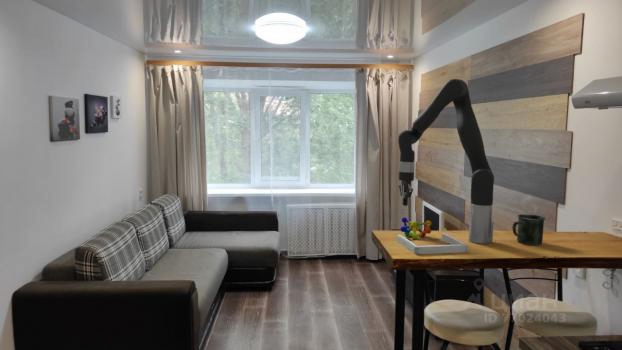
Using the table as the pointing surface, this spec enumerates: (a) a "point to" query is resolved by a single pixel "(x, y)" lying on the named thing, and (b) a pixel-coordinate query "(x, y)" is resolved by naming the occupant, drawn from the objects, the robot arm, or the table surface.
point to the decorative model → (415, 226)
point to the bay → (435, 246)
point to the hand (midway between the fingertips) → (405, 205)
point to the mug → (529, 229)
